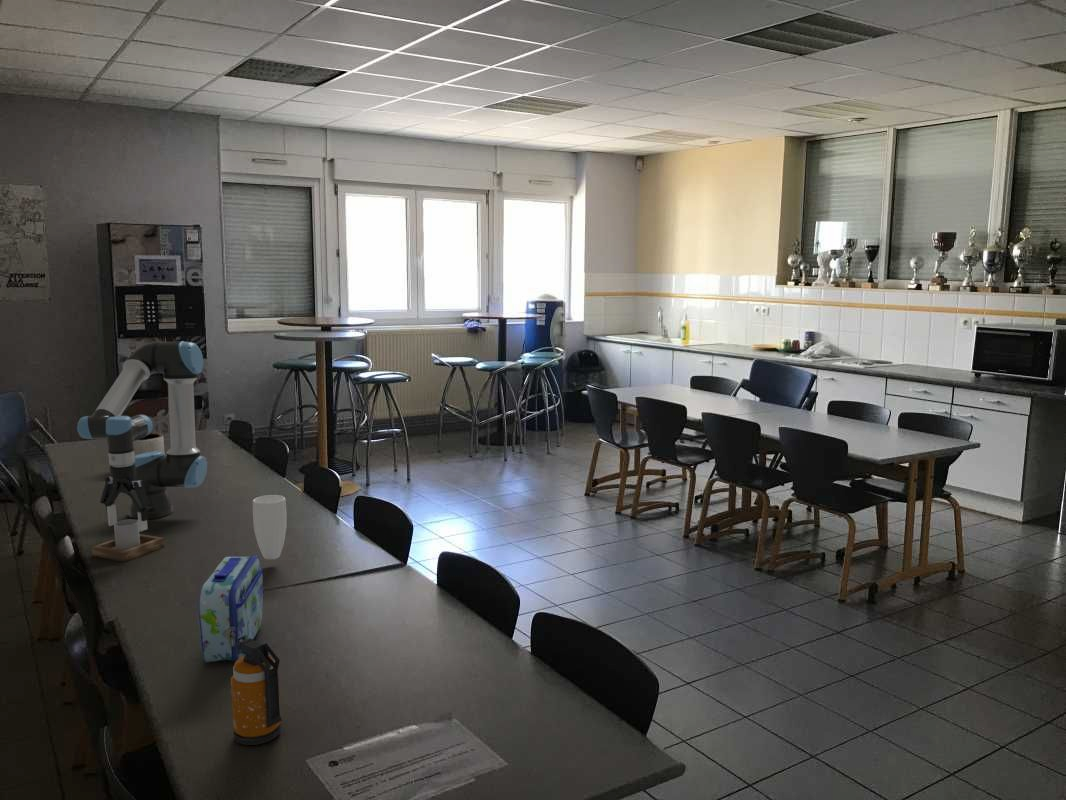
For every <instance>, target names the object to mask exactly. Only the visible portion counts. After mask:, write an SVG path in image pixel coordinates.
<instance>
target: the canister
mask: <svg viewBox="0 0 1066 800" xmlns="http://www.w3.org/2000/svg"><path fill="white" fill-rule="evenodd" d="M236 646H237V648H238V649H241V653H242V654H244V655H245V656H243V657H241V658H240V659H238V660H237V661H236V662H235V661H234V665H233V667H232V671H233V675H232V676H231V677H230V691H231V709H232V724H233V727H232V728H233V738H234V740H235V741H236V742H237V743H238V744H242V745H249V746H250V745H252V746H253V745H260V744H264V743H267V742H270V741H271V740H273V739H276V737H278V735H279V734H280V733H281V730H282V723H281V722H282V721H283V719H282V717H281V704H280V703H281V701H280V700H281V699H280V682H279V681H280V679H279V666H280V661H281V660H280V658H279V657H278V656H277V654H276V653H275V652H274V650H273V649H272V648H271V647H270V646H269V645H268V643H267V642H266V643H262V642H259V641H256V640H254V639H251V638H249V639H246V640H244V641H241V642H240V643H238V644H236Z"/></svg>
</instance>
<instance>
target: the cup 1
mask: <svg viewBox="0 0 1066 800" xmlns="http://www.w3.org/2000/svg"><path fill="white" fill-rule="evenodd" d="M113 529H114V539H115V544H116V549H117V550H122V551H125V550H128V549H130V548H133V547H136V546H139V545H140V535H139V534H140V531H139V523H138V519H134V518H131V519H122V520H119V521H118V520H117V522H116V523H114V525H113Z"/></svg>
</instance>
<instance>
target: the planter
mask: <svg viewBox="0 0 1066 800" xmlns="http://www.w3.org/2000/svg"><path fill="white" fill-rule="evenodd" d="M164 442H165V441H164V434H163V433H159V432H151V433H150V434H148V435H147V436H146V437H143V438H141V439H138V440H136V441H134V442H133V444H134V454H135V456H136V455H139V454H143V453H147V452H153V451H163V452H164V454H165V443H164ZM164 456H166V454H165V455H164Z"/></svg>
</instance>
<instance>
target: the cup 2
mask: <svg viewBox="0 0 1066 800" xmlns="http://www.w3.org/2000/svg"><path fill="white" fill-rule="evenodd" d="M287 514H288V513H287V504H286V497H285V496H283V495H280V494H278V495H277V494H269V495H261V496H260V495H259V496H258V497H255V498H254V499H252V521H253V522H252V524H253V531H254V535H255V539H256V542H257V545H258V546H257V547H259V550H260V553H261V555H262V556H263V558H264V559H266V560H276V559H279V558H280V556H281V555H282V551H283V547H284V544H285V541H286V533H287V516H288V515H287Z"/></svg>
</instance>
